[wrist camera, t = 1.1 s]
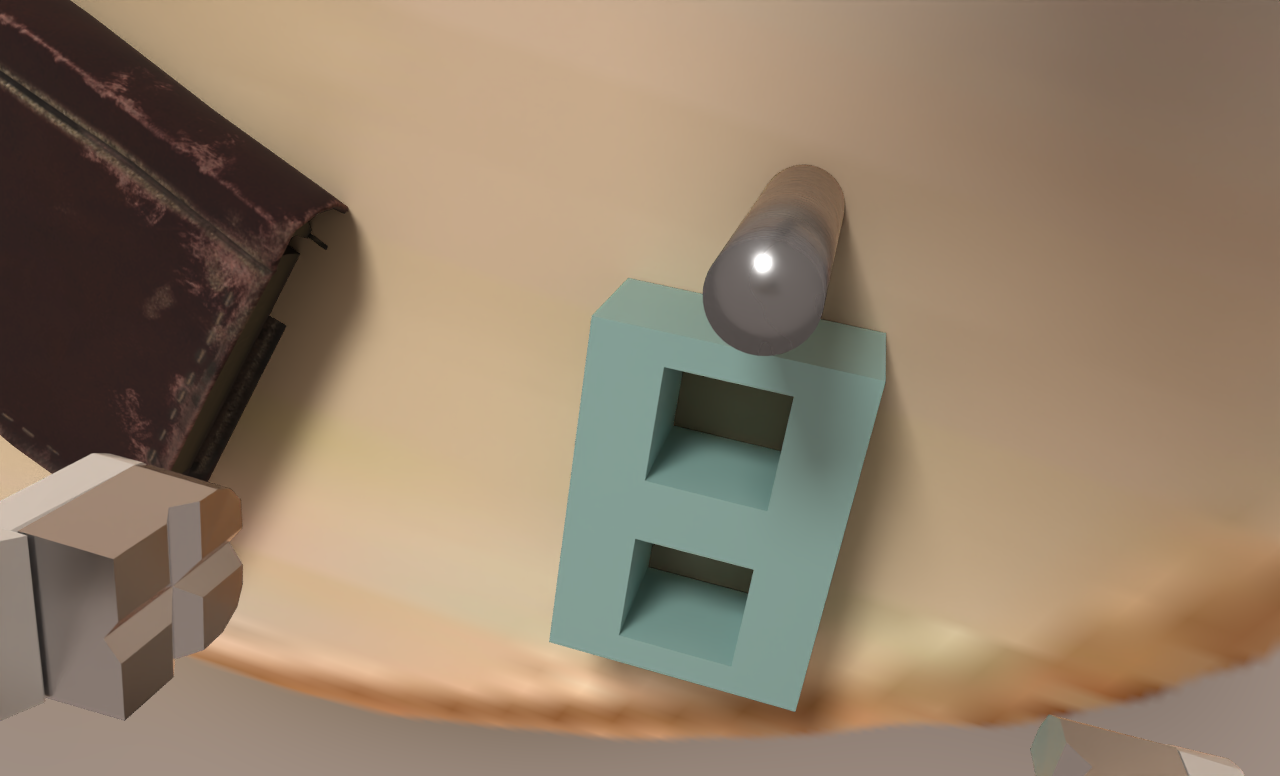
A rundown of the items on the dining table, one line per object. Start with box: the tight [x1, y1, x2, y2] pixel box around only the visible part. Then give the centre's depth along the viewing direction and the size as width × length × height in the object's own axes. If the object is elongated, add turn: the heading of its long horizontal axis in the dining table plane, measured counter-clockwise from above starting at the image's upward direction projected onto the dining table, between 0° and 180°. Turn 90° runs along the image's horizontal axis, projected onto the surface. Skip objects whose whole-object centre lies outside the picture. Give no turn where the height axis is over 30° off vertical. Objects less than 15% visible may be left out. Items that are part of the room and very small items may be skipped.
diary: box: [0, 0, 348, 482], centre depth 40 cm, size 19×25×5 cm
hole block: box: [549, 278, 886, 712], centre depth 36 cm, size 14×10×5 cm
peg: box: [703, 165, 845, 356], centre depth 29 cm, size 3×3×12 cm
